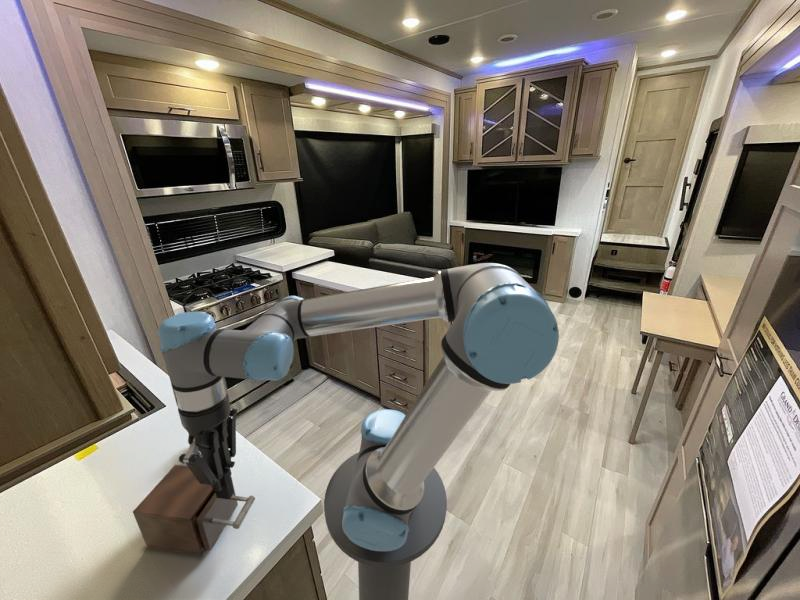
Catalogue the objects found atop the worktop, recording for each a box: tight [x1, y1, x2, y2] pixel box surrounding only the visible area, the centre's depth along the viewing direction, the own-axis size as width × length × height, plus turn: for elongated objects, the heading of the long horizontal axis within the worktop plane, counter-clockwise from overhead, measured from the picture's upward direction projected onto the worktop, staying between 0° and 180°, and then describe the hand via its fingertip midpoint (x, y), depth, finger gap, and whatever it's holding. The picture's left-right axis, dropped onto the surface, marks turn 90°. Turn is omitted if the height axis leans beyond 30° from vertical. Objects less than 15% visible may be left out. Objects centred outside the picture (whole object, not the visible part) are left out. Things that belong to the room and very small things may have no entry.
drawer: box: [194, 476, 256, 551], centre depth 66 cm, size 16×9×9 cm, turn 84°
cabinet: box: [132, 464, 213, 556], centre depth 66 cm, size 12×11×11 cm
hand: (225, 495), depth 63 cm, fingers closed
